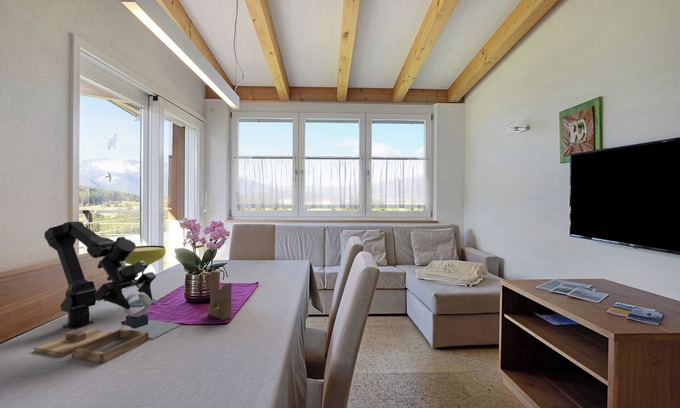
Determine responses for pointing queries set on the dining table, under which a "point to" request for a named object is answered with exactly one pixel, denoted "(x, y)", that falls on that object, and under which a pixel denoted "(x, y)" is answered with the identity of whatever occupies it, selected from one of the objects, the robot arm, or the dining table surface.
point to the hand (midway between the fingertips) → (140, 304)
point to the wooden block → (219, 297)
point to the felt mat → (156, 328)
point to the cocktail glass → (149, 256)
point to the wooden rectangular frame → (102, 357)
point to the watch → (140, 317)
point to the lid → (70, 341)
